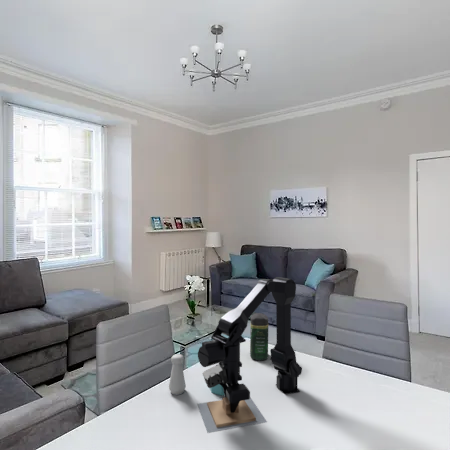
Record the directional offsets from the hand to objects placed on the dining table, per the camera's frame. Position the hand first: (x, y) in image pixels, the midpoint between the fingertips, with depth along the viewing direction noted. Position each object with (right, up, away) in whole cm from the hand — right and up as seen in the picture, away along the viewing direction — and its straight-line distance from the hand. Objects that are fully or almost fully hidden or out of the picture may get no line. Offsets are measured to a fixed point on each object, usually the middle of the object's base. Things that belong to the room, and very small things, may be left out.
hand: (230, 408), depth 101 cm
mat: (0, -2, 0) cm, 2 cm away
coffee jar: (+13, -2, +43) cm, 46 cm away
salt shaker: (-18, -2, +12) cm, 22 cm away
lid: (0, -1, 0) cm, 1 cm away
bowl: (-2, -2, +15) cm, 15 cm away
